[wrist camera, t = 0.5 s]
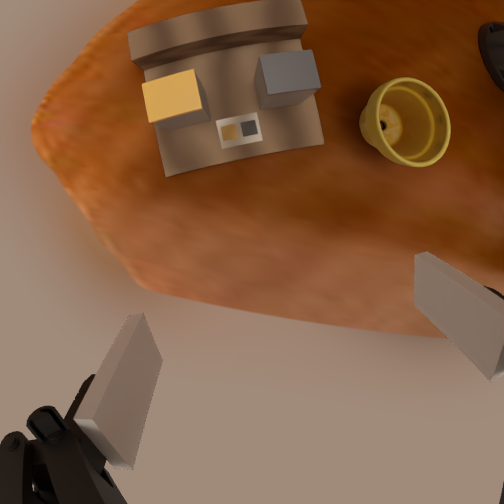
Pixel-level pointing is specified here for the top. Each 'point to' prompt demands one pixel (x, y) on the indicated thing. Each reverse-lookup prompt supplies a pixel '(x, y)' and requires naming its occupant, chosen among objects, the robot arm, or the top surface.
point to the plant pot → (406, 122)
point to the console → (227, 81)
